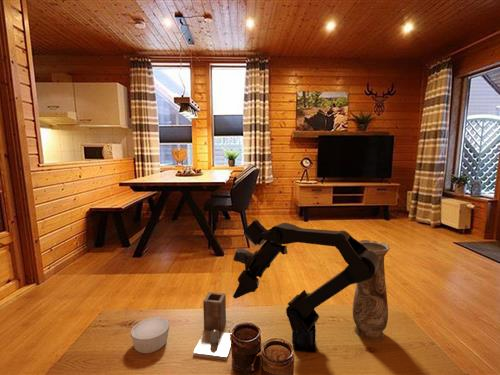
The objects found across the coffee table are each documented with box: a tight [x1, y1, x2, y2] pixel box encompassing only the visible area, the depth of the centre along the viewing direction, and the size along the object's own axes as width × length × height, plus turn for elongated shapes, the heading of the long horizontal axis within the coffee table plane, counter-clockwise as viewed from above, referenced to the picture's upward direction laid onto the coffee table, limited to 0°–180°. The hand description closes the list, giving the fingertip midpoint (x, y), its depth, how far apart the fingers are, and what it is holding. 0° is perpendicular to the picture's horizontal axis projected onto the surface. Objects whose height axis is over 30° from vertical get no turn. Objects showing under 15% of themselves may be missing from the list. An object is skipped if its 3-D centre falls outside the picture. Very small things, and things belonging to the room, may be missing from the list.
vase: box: [352, 239, 391, 342], centre depth 84 cm, size 10×11×30 cm
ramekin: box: [130, 316, 170, 354], centre depth 81 cm, size 11×11×5 cm
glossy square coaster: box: [192, 330, 232, 361], centre depth 80 cm, size 10×10×5 cm
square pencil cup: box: [202, 291, 227, 332], centre depth 90 cm, size 6×6×10 cm
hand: (236, 291), depth 87 cm, fingers open, 9 cm apart
